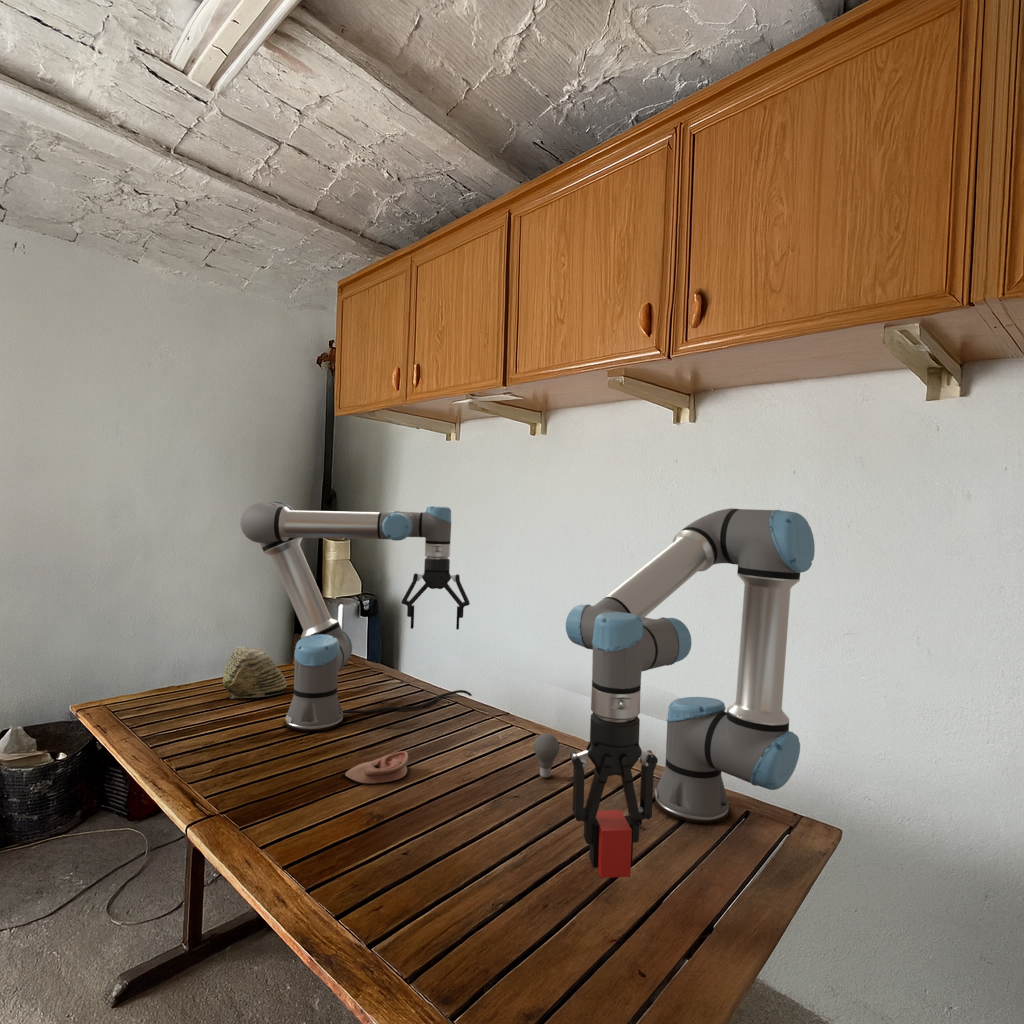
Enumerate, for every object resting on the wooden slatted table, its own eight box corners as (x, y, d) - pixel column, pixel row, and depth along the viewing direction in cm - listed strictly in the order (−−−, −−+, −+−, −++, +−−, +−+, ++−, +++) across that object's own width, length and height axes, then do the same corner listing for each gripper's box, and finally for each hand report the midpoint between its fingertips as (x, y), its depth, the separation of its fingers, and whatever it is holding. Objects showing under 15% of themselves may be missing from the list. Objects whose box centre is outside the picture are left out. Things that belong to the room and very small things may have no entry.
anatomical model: (339, 762, 141) (361, 743, 153) (338, 780, 141) (361, 759, 153) (395, 770, 139) (413, 750, 150) (394, 788, 139) (413, 766, 150)
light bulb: (531, 771, 151) (532, 729, 150) (555, 771, 151) (557, 729, 151) (534, 782, 145) (535, 738, 145) (559, 782, 145) (561, 739, 145)
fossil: (218, 695, 195) (220, 647, 195) (278, 685, 208) (279, 640, 207) (228, 703, 189) (230, 653, 188) (289, 692, 201) (290, 645, 201)
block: (600, 878, 96) (602, 830, 95) (591, 855, 102) (592, 810, 101) (630, 876, 96) (632, 829, 96) (619, 854, 102) (621, 809, 102)
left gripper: (394, 557, 185) (391, 630, 185) (479, 560, 187) (476, 631, 188) (396, 555, 192) (394, 624, 193) (478, 557, 195) (475, 626, 195)
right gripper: (563, 723, 93) (558, 878, 94) (679, 722, 95) (674, 874, 96) (554, 706, 101) (550, 850, 102) (662, 705, 103) (657, 846, 103)
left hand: (434, 628), depth 190 cm, fingers open, 13 cm apart
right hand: (610, 861), depth 99 cm, fingers closed on block, 5 cm apart
